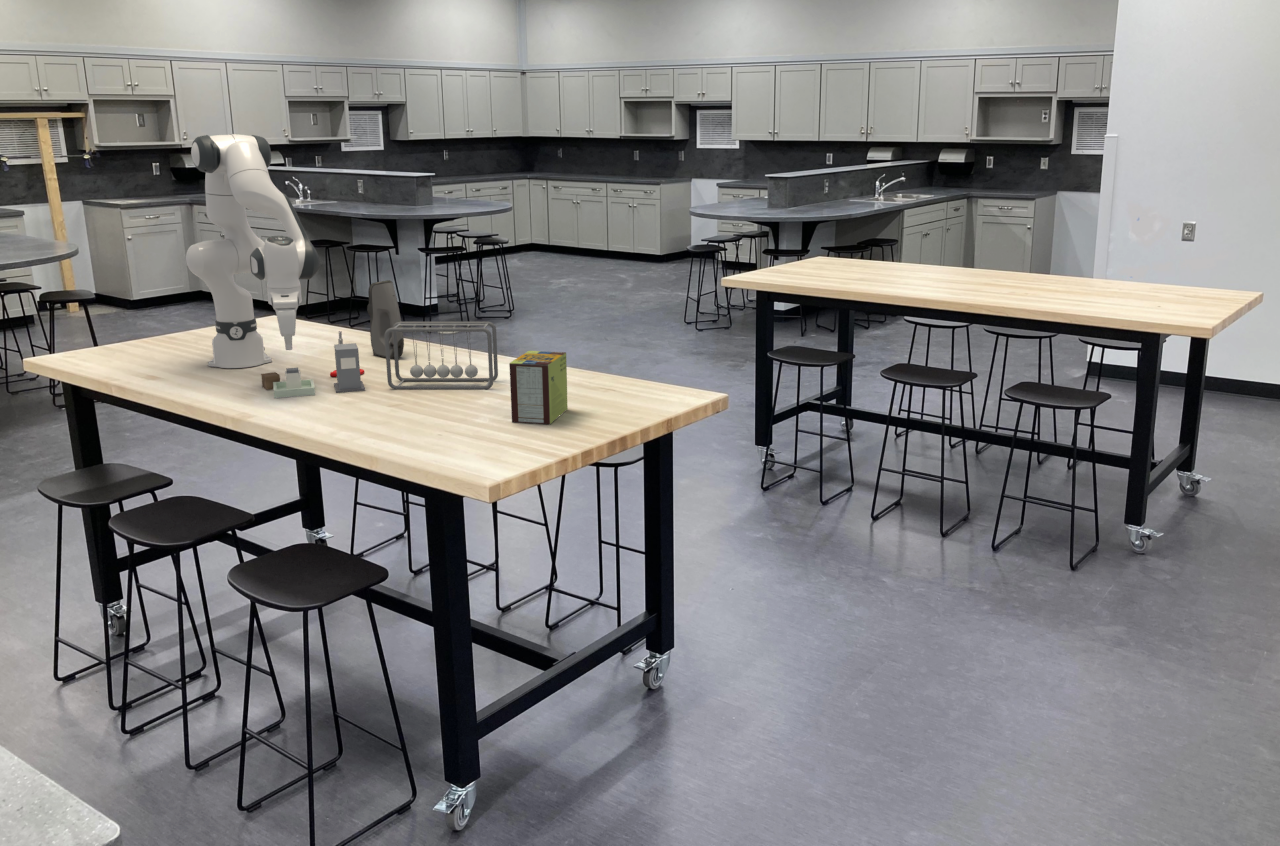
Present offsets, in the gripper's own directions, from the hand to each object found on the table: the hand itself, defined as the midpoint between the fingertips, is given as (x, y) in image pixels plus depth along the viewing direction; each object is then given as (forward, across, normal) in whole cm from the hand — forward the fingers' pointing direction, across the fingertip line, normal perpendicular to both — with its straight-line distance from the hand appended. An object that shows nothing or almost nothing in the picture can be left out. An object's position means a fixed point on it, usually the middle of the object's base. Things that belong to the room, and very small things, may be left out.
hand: (288, 346), depth 293 cm
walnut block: (+14, -7, -6) cm, 16 cm away
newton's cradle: (+13, +7, +42) cm, 44 cm away
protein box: (+11, +48, +60) cm, 78 cm away
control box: (+13, +1, +16) cm, 20 cm away
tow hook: (+14, -17, +16) cm, 28 cm away
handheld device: (+14, -39, +31) cm, 52 cm away
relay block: (+12, +1, 0) cm, 13 cm away
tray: (+13, +1, 0) cm, 13 cm away
